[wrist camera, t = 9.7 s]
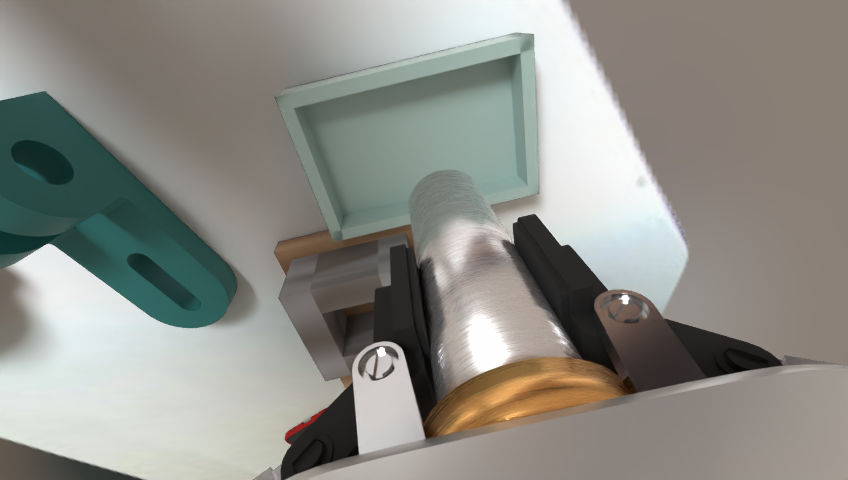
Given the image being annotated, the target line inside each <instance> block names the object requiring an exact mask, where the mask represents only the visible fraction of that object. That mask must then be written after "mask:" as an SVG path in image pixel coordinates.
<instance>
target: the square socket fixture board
mask: <svg viewBox="0 0 848 480" xmlns="http://www.w3.org/2000/svg"><path fill="white" fill-rule="evenodd" d="M402 244H406V247H411V246H412V248H413V251H414V255H415V248H414V241H413V234H412V227H411V224H408V225H404V226H400V227H396V228H392V229H387V230H383V231H379V232H375V233H370V234H366V235H362V236H358V237H353V238H349V239H345V240H341V241H337V242H333V239H332V237H331V234H330V232H329V230H327V231H323V232H319V233H314V234H310V235H306V236H302V237H298V238H293V239H289V240H285V241H281V242H278V245H277V247H276V249H275V251H274V253H275V255H276V257H277V259H278V261H279V263H280V265H281V267H282V268H283V270H284V272H285V274H286V278H285V281H284V284H283V287H282V289H281V292H280V295H279V300H280V302H281V303H282V305H283V307H284V309H285V311H286V312H287V314H288V316H289V318H290V319H291V321H292V323H293V325H294V326H295V328H296V330H297V332H298V334H299V335H300V337H301V339H302V341H303V342H304V344H305V346H306V348H307V349H308V351H309V353H310V355H311V357H312V358H313V360H314V362H315V364H316V365H317V367H318V369H319V371H320V372H321V374H322V376H323V378H324V380H325V381H328V380H332V379H336V378H340V379H341V381H342V383H343V384H344V386H345V388H347V387H348V386H349V385H350V384H351V383H352V382H353V376H352V368H353V363H354V361H355V359H356V357H357V356H358V355H359V353H360V352H361V351H362V350H364V349H365V348H366V347H368V346H370V345H372V344H373V333H374V299H375V289H376V288H380V287H384V286H389V285H391V274H390V247H393V246H397V245H402ZM415 259H416V255H415Z"/></svg>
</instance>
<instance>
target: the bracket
mask: <svg viewBox="0 0 848 480" xmlns="http://www.w3.org/2000/svg"><path fill="white" fill-rule="evenodd" d="M46 244H52V245H54V246H56V247H57V248H58V249H60V250H61V251H63V252H64V253H65V254H67V255H68V256H69V257H71V258H72V259H73V260H75V261H76V262H77V263H79V264H80V265H82V266H83V267H84V268H86V269H87V270H88V271H90V272H91V273H92V274H94V275H95V276H96V277H98V278H99V279H100V280H102V281H103V282H105V283H106V284H107V285H109V286H110V287H111V288H113V289H114V290H115V291H117V292H118V293H119V294H121V295H122V296H124V297H125V298H126V299H128V300H129V301H130V302H132V303H133V304H134V305H136V306H137V307H138V308H140V309H141V310H143V311H144V312H145V313H147V314H148V315H149V316H151V317H153V318H154V319H156V320H158V321H160V322H163V323H165V324H168V325H172V326H176V327H182V328H198V327H204V326H208V325H210V324H213V323H215V322H216V321H218V320H219V319H220V318H221V317H222V316H223V315H224V314H225V312H226V310H227V308H228V306H229V304H230V303H231V301H232V299H233V297H234V295H235V292H236V288H237V282H236V278H235V275H234V273H233V271H232V270H231V268H230V267H229V266H228V265H227V263H226V262H225V261H223V260H222V259H221V258H220V257H219V256H218V255H217V254H216V253H215V252H214V251H213V250H212V249H211V248H210V247H209V246H208V245H207V244H206V243H204V242H203V241H202V240H201V239H200V238H199V237H198V236H197V235H196V234H195V233H194V232H193V231H192V230H191V229H190V228H189V227H188V226H187V225H186V224H184V223H183V222H182V221H181V220H180V219H179V218H178V217H177V216H176V215H175V214H174V213H173V212H172V211H171V210H170V209H169V208H168V207H167V206H165V205H164V204H163V203H162V202H161V201H160V200H159V199H158V198H157V197H156V196H155V195H154V194H153V193H152V192H151V191H150V190H149V189H148V188H146V187H145V186H144V185H143V184H142V183H141V182H140V181H139V180H138V179H137V178H136V177H135V176H134V175H133V174H132V173H131V172H130V171H129V170H128V169H126V168H125V167H124V166H123V165H122V164H121V163H120V162H119V161H118V160H117V159H116V158H115V157H114V156H113V155H112V154H111V153H110V152H109V151H107V150H106V149H105V148H104V147H103V146H102V145H101V144H100V143H99V142H98V141H97V140H96V139H95V138H94V137H93V136H92V135H91V134H90V133H88V132H87V131H86V130H85V129H84V128H83V127H82V126H81V125H80V124H79V123H78V122H77V121H76V120H75V119H74V118H73V117H72V116H71V115H70V114H68V113H67V112H66V111H65V110H64V109H63V108H62V107H61V106H60V105H59V104H58V103H57V102H56V101H55V100H54V99H53V98H52V97H51V96H49V95H48V94H47V93H46V92H45V91H44V92H39V93H34V94H30V95H25V96H20V97H16V98H11V99H6V100H1V101H0V269H1V268H4V267H7V266H10V265H12V264H14V263H16V262H18V261H20V260H21V259H23V258H25V257H26V256H28V255H30V254H31V253H33V252H34V251H36V250H38V249H39V248H41V247H43V246H44V245H46Z"/></svg>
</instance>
